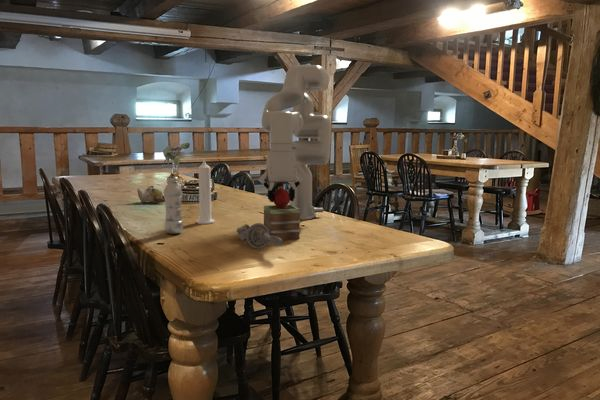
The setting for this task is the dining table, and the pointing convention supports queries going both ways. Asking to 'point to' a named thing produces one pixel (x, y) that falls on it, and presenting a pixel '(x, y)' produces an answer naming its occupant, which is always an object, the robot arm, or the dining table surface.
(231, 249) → the dining table surface
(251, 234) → the spaceship
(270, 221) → the green shadow box
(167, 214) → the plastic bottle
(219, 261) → the dining table surface
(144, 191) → the ceramic sculpture
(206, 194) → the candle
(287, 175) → the robot arm
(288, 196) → the onion
